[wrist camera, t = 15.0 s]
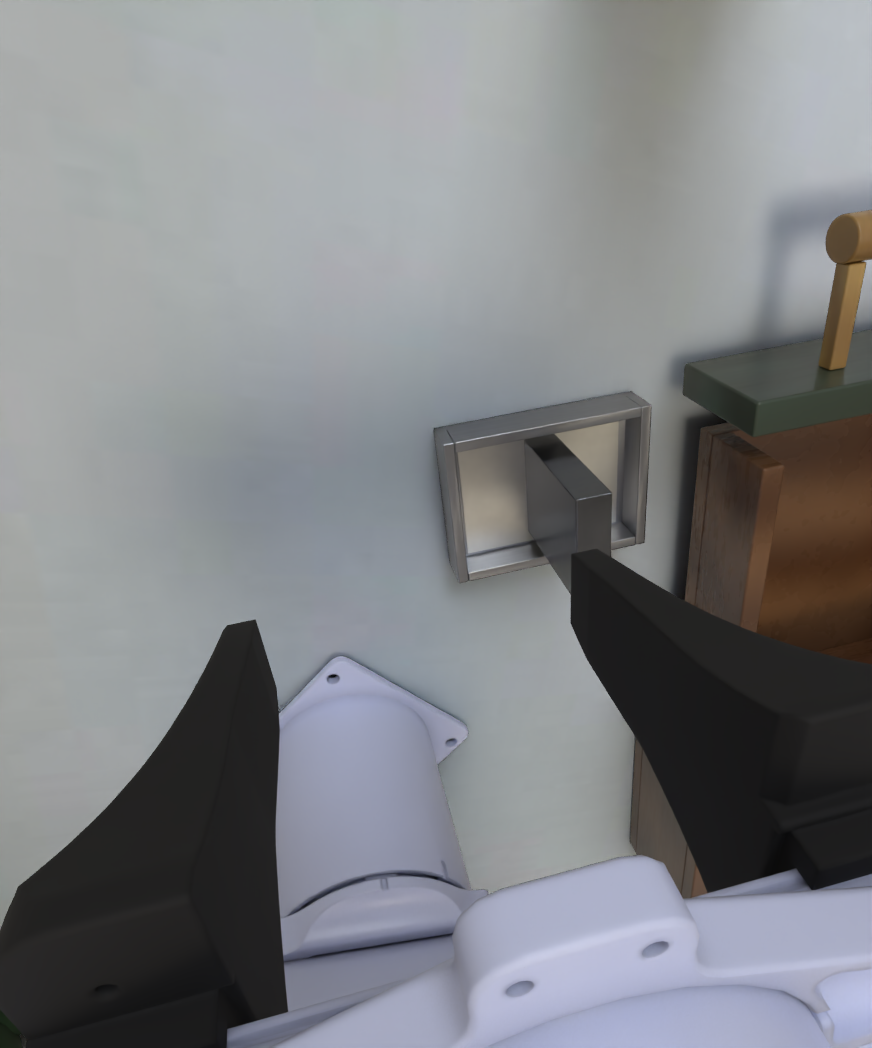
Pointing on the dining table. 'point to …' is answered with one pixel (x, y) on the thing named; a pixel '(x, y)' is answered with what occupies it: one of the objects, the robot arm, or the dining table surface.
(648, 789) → the cabinet
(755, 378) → the drawer
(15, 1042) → the toy figurine
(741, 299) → the dining table surface
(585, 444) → the tray
